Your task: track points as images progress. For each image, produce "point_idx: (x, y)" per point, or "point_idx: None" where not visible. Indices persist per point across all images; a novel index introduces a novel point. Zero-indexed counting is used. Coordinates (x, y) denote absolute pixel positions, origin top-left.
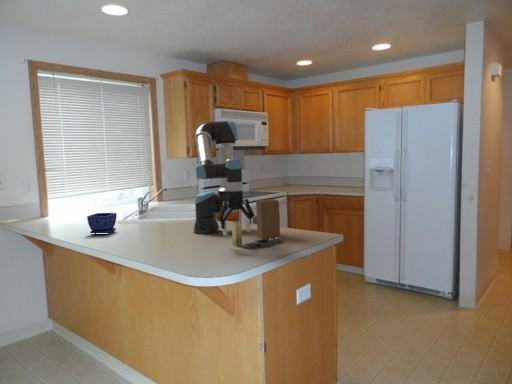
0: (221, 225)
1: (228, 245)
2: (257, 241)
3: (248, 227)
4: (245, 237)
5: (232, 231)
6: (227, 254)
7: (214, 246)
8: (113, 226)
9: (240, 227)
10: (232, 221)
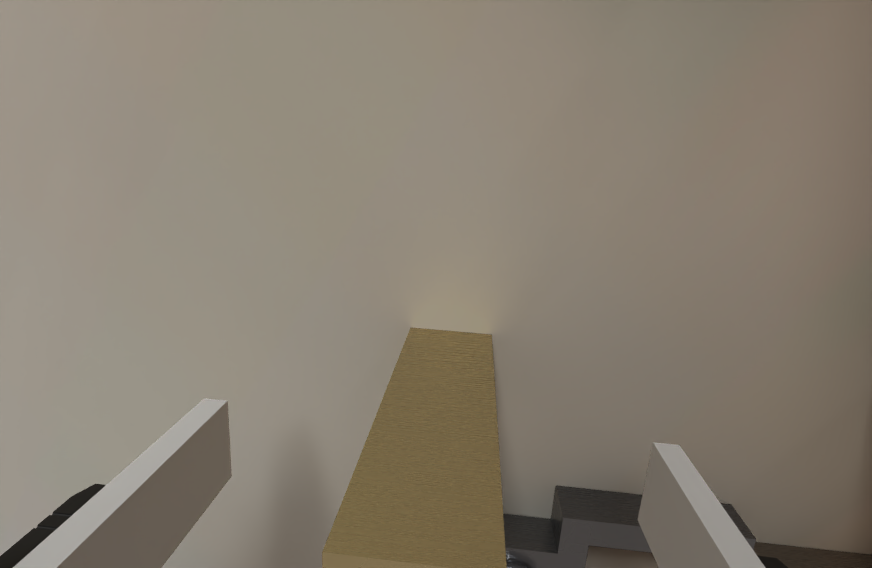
0: (34, 543)
1: (371, 294)
2: (620, 545)
3: (665, 561)
4: (852, 63)
5: (376, 424)
6: (184, 559)
7: (222, 210)
8: None
9: None
10: (342, 560)
